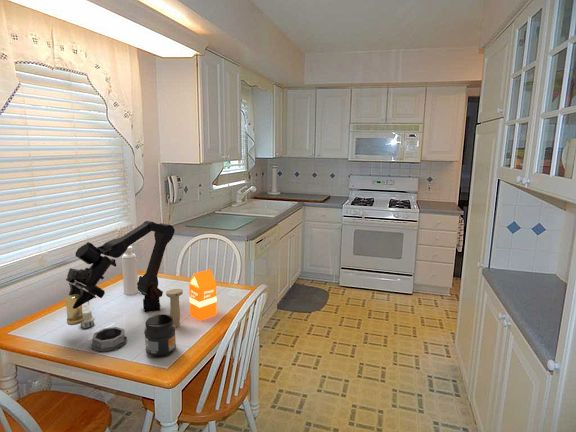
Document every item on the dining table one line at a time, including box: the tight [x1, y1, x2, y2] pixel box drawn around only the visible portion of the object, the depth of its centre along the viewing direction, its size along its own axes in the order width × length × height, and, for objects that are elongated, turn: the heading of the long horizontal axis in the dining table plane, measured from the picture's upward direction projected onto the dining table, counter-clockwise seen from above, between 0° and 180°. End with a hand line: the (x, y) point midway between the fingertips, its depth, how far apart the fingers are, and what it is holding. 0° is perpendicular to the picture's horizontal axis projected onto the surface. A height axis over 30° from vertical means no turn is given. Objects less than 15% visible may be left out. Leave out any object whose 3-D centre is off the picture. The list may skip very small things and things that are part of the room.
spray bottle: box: [121, 245, 139, 296], centre depth 185 cm, size 7×7×25 cm
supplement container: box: [143, 313, 177, 359], centre depth 134 cm, size 10×10×12 cm
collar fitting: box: [90, 326, 128, 353], centre depth 139 cm, size 12×12×4 cm
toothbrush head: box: [80, 300, 95, 329], centre depth 161 cm, size 5×7×25 cm
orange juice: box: [188, 269, 218, 322], centre depth 163 cm, size 8×9×20 cm
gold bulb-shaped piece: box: [65, 294, 84, 326], centre depth 141 cm, size 6×6×10 cm
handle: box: [165, 288, 184, 328], centre depth 153 cm, size 5×6×15 cm
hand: (70, 306), depth 139 cm, fingers closed on gold bulb-shaped piece, 5 cm apart
